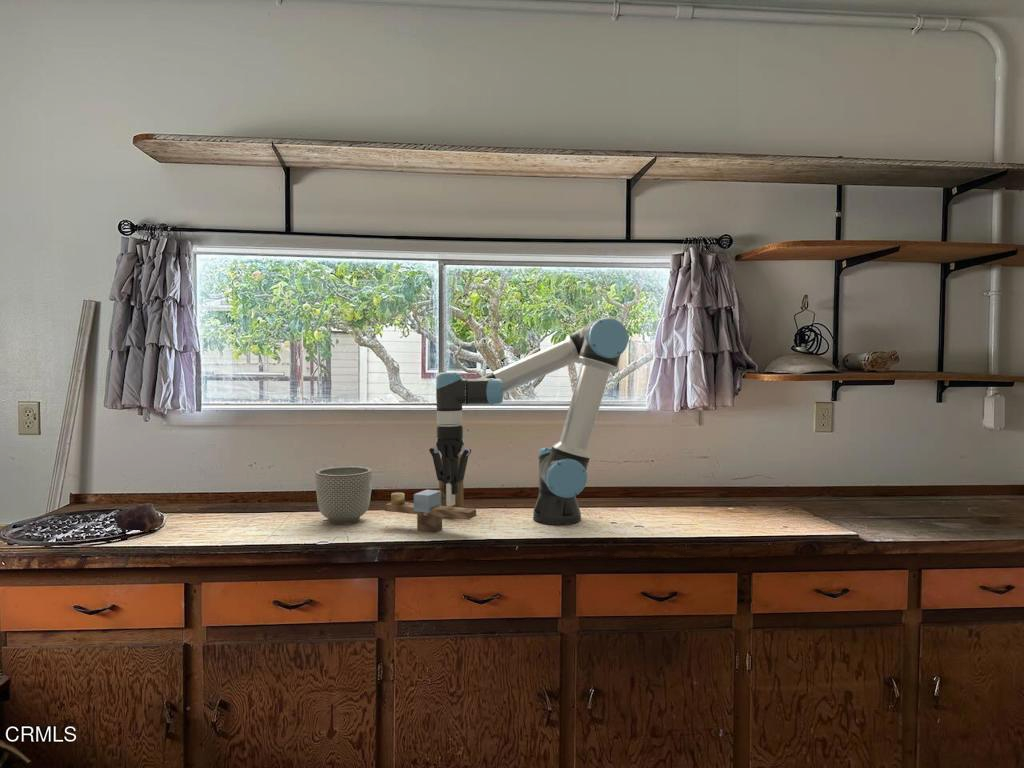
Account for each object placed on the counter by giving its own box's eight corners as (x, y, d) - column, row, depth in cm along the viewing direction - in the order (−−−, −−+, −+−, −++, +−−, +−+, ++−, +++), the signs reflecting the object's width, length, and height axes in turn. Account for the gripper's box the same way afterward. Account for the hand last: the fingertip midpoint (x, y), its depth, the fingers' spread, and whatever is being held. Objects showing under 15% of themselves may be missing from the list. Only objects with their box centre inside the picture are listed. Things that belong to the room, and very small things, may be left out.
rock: (129, 533, 188) (108, 541, 178) (125, 504, 188) (103, 511, 178) (168, 527, 188) (149, 535, 178) (163, 498, 188) (144, 505, 178)
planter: (304, 521, 197) (304, 470, 197) (352, 512, 210) (352, 464, 209) (334, 531, 185) (334, 477, 185) (383, 521, 198) (383, 470, 198)
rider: (441, 507, 190) (441, 490, 190) (428, 512, 183) (428, 495, 183) (426, 505, 192) (426, 489, 192) (413, 511, 185) (413, 494, 185)
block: (460, 518, 201) (460, 456, 201) (437, 518, 202) (437, 456, 201) (465, 510, 212) (465, 451, 212) (443, 510, 213) (443, 451, 212)
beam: (476, 532, 185) (476, 498, 184) (468, 537, 180) (468, 502, 180) (394, 523, 195) (393, 491, 195) (384, 527, 190) (384, 494, 190)
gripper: (475, 424, 185) (476, 504, 186) (436, 423, 190) (437, 500, 191) (463, 426, 178) (464, 509, 179) (423, 425, 183) (425, 506, 184)
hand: (450, 505), depth 185 cm, fingers closed
